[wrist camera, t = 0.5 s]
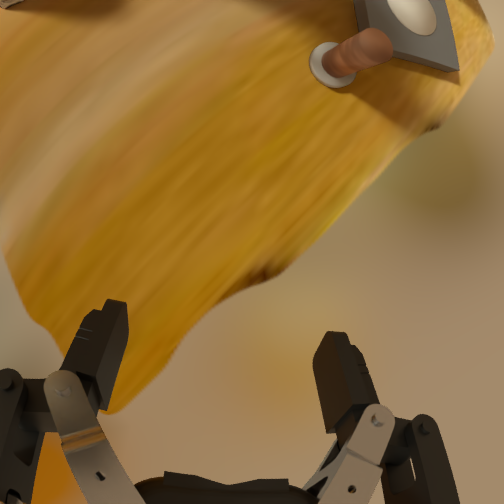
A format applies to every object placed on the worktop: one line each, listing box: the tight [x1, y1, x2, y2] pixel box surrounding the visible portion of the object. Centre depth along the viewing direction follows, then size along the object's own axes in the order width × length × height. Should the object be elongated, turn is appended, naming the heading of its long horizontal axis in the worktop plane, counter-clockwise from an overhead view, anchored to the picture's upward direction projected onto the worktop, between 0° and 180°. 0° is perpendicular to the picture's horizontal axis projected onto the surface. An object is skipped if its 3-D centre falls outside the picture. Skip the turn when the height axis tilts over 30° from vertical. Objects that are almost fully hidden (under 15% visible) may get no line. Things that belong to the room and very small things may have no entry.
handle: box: [309, 28, 393, 88], centre depth 28 cm, size 6×6×11 cm
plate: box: [353, 0, 460, 72], centre depth 30 cm, size 18×18×3 cm
